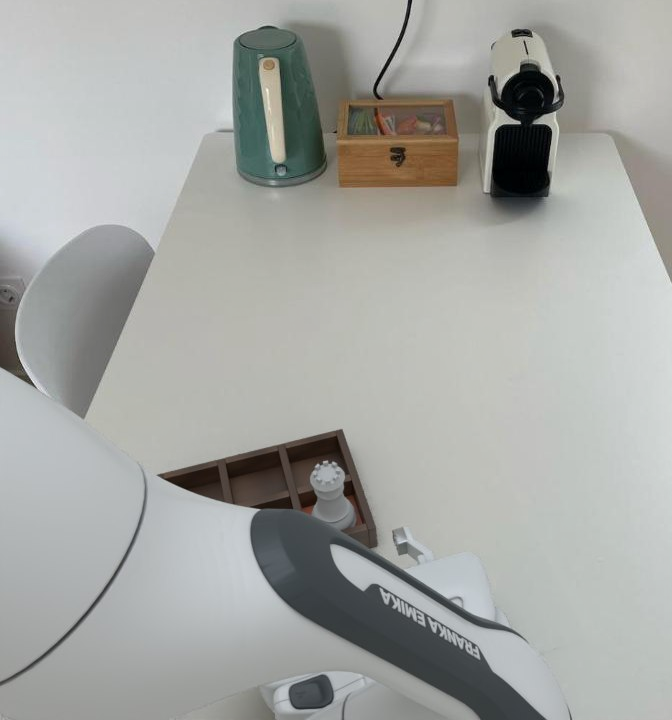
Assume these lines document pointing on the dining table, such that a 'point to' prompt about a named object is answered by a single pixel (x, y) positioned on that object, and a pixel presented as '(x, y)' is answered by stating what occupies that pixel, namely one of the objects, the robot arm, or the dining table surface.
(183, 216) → the dining table surface
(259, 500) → the grid
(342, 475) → the rook chess piece
